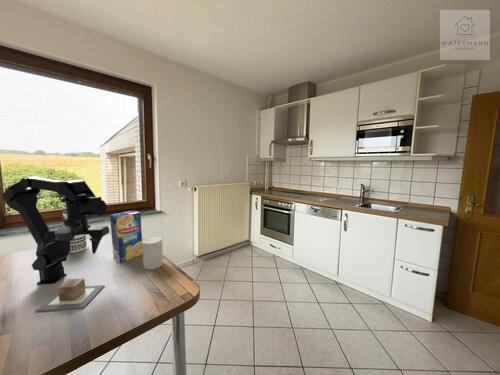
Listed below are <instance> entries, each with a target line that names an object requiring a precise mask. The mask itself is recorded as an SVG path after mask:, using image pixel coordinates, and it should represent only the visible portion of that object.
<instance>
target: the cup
mask: <svg viewBox="0 0 500 375" xmlns="http://www.w3.org/2000/svg"><path fill="white" fill-rule="evenodd" d="M162 238H163V237H160V236H150V237H147V238H144V239H142V249H143V255H142V261H143V269H144V268H145V269H144V270H147V269H152V270H156V269H159V268H161V267H162V266H163V265H164V257H163V256H164V255H163V254H164V253H163V251H164V250H163V239H162ZM162 264H163V265H162ZM161 265H162V266H161ZM160 266H161V267H160ZM158 267H159V268H158ZM155 268H156V269H155Z"/></svg>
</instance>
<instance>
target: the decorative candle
mask: <svg viewBox="0 0 500 375" xmlns="http://www.w3.org/2000/svg"><path fill="white" fill-rule="evenodd" d="M62 212H63V213H62V215H63V216H62V217H61V219H62V226H63V225H64V220H65V219H66V218H67V211H66V203H64V205H63V206H62ZM86 239H87V235H77V236H75V237H74V238H73V239H72V240H70V253H69V254H71V253H72V254H74V253H79V252H82V251H84V250H86V249H87V248H88V247H87V240H86Z"/></svg>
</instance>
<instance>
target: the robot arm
mask: <svg viewBox="0 0 500 375" xmlns="http://www.w3.org/2000/svg"><path fill="white" fill-rule="evenodd" d="M41 190H42V191H48V192H55V193H57V195H58V196H62V197H63V198H62V199H61V200H60V203H64V204H66V211H67V218H66V219H65V220H64V223H63V224H64V225H63V224H62V225H61V226H59V227H55V228H52V229H49V227H48V225H47V223H46V222H45V220H44V218H43V215H42V214H41V213H40V211H39V209H38V207H37V204H38V200H39V198H38V196H37V195H39V194H40V193H41ZM1 199H2V200H3V201H4V203H5V204H6V205H7V207H8V208H10V209H12V210H14V211H16V212H18V213H19V215H20V217H21V218H22V220H23V221H24V223H25V226H26V227H27V229H28V231H29V233H30V234H31V236H32V237H33V238H32V239H34V242H35V243H36V251H35V255H36V259H35V260H34V261H33V263H32V264H31V267H32V270H33V271H38V273H39V281H38V282H36V285H49V284H51V285H52V284H56V283H58V282H59V281H60V280H62V279H63V278H64V277H66V276H67V274H68V273H65V268H64V265H63V262H66V261H67V259H68V255H70V254H71V253H70V240H72V239H73V238H74V237H75V236H77V235H86V236H88V235H89V237H90V238H88V239H89V241H90V242H91V252H92V254H93V255H95V254H96V253H97V250H98V248H99V245H100V243H101V241H102V239H103V237H105V236H107V235H108V234H109V233H110V228H109V226H108V225H99V226H96V227H93V228H92V229H91V224H89V223H88V218H90V216H95V217H96V216H99V217H100V216H103V215H104V214H105V213H107V212H106V211H107V210H108V209H107V208H108V205H107V203H106V201H104V200H103V199H102V197H101V196H96V195H95V194H94V192H93V191H92V189H91V188H90V186H89V185H88V184H87V182H86V181H85V180H83V179H80V180H79V179H76V180H75V179H74V180H60V179H52V178H45V177H40V176H24V177H22V178H21V179H20V180H19V181H18V182H16V183H14V184H12V185H10V186H8V187H7V188H6V190H5V191H4V192H3V193H2V194H1Z"/></svg>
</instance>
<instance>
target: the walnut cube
mask: <svg viewBox="0 0 500 375" xmlns="http://www.w3.org/2000/svg"><path fill="white" fill-rule="evenodd" d="M85 282H86V281H85V278H83V277H82V278H81V277H80V278H68V279H67V280H65V281H64V282H63V283H62V284H60V285H59V286H58V287H57V293H58V294H59V301H74V300H77V299H78V298H79V297H80V296H81V295H82V294H83V293H84V292H85V286H86V284H85Z"/></svg>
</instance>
